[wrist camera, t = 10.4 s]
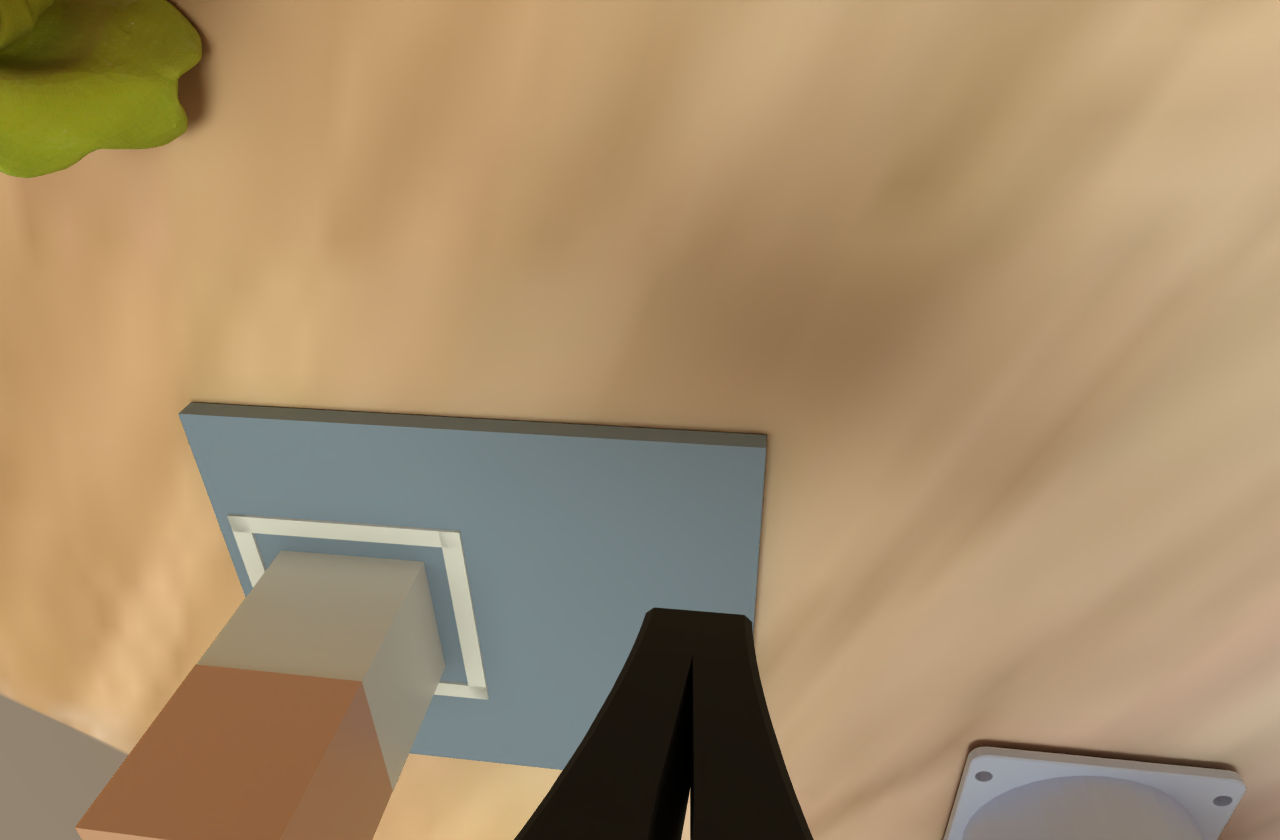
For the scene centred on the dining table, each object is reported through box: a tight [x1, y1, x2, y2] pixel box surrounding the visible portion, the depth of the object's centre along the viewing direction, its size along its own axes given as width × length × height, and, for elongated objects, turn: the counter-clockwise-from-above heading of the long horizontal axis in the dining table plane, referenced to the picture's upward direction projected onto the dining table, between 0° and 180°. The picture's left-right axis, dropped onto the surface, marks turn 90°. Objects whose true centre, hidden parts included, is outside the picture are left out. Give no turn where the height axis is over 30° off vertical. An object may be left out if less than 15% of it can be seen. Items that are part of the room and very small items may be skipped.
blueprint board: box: [179, 403, 767, 770], centre depth 26 cm, size 14×16×1 cm
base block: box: [196, 550, 446, 790], centre depth 25 cm, size 4×4×4 cm
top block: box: [75, 665, 393, 840], centre depth 21 cm, size 4×4×4 cm
